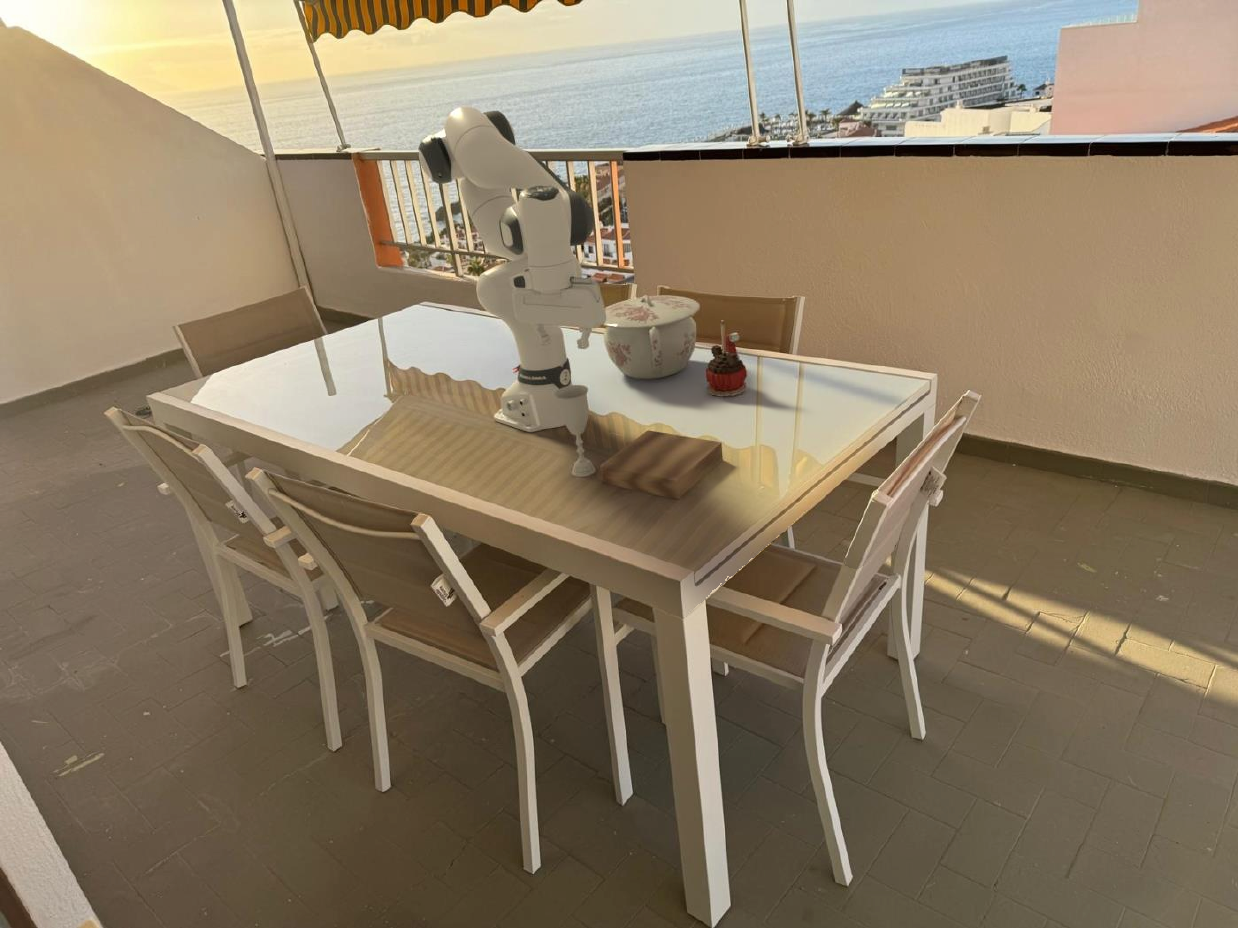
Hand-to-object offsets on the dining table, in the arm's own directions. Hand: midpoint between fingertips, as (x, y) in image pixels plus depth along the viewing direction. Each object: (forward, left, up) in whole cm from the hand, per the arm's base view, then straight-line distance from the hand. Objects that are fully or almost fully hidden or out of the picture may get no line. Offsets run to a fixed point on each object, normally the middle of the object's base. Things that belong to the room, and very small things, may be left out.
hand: (564, 346), depth 165 cm
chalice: (0, 0, -28) cm, 28 cm away
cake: (+8, +49, -28) cm, 57 cm away
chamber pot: (-18, +56, -28) cm, 65 cm away
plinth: (+16, +6, -28) cm, 32 cm away
